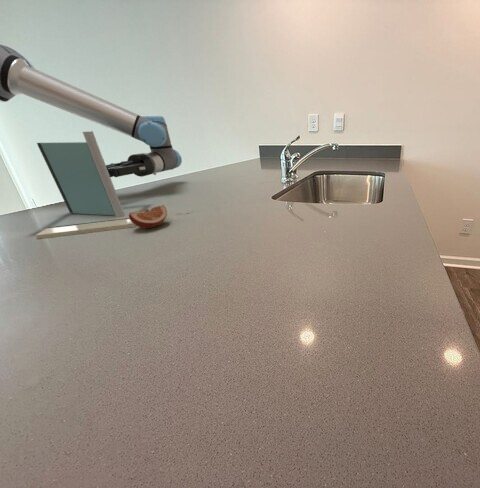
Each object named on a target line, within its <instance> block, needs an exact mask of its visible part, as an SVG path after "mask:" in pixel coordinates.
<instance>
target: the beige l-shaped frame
mask: <svg viewBox="0 0 480 488" xmlns="http://www.w3.org/2000/svg"><path fill="white" fill-rule="evenodd" d="M82 135H83V137H84V139H85V142H87V145H88V147H89V150H90V152H91V155H92V157H93V160H94V162H95V165H96V168H97V170H98V173H99V175H100V178H101V180H102V183H103V185H104V188H105V190H106V193H107V195H108V198H109V200H110V203H111V205H112V208H113V210H114V213H115V215H114V216H115V217H116V218H117V219H109V220H101V221H91V222H84V223H75V224H73V223H72V224H67V225H57V226H48V227H47V228H44V229H43V230H42V231H40V232H38V233H37V234H35V237H36V239H37V240H40V239H49V238H56V237H64V236H73V235H79V234H88V233H96V232H105V231H106V232H107V231H112V230H121V229H129V228H134V227H136V225H135V224H134V223H133V222H132V221H131V220H130V218H129V217H127V218H123V217H125V215H126V214H125V212H124V209H123V207H122V205H121V202H120V199H119V196H118V194H117V191H116V189H115V185H114V183H113V180H112V177H110V175H109V172H108V170H107V167H106V165H107V164H106V162H105V159H104V157H103V154H102V151H101V149H100V146H99V144H98V141H97V139H96V135H95V133H94V131H93V130H84V131H83V130H82Z"/></svg>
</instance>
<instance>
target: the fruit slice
mask: <svg viewBox="0 0 480 488" xmlns="http://www.w3.org/2000/svg"><path fill="white" fill-rule="evenodd" d="M167 215H168V210H167V208H166V206H165V205H164V204H162V205H158V206H155V207H151V208H150V209H142V210H141V209H140V210H138V211H137V210H136V211H133V212H132V211H131V212H129V214H128V218H130V220H131V221H132V222H133V223H134V224H135V226H137V227H139V228H142V229H151V228H156V227H158V226H160V225H161V224H163V223H164V221H165V220H166V219H167Z"/></svg>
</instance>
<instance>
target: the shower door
mask: <svg viewBox="0 0 480 488" xmlns="http://www.w3.org/2000/svg"><path fill="white" fill-rule="evenodd" d="M36 145H37V147H38V150H39V151H40V153H41V156H42V157H43V160H44V162H45V164H46V166H47V168H48V170H49V173H50V174H51V176H52V178H53V181H54V183H55V184H56V187H57V189H58V191H59V193H60V195H61V197H62V199H63V201H64V203H65V206H66V208H67V210H68V212H69V214H82V215H83V214H84V215H85V214H86V215H105V216H116V215H115V213H114V210H113V208H112V205H111V203H110V200H109V198H108V195H107V193H106V190H105V188H104V185H103V183H102V180H101V178H100V175H99V173H98V170H97V168H96V165H95V162H94V160H93V157H92V155H91V152H90V150H89V147H88V145H87V142H86V141H78V142H77V141H75V142H74V141H72V142H69V141H68V142H66V141H63V142H59V141H58V142H36Z"/></svg>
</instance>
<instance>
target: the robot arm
mask: <svg viewBox="0 0 480 488" xmlns="http://www.w3.org/2000/svg"><path fill="white" fill-rule="evenodd" d="M21 95H24V96H27V97H30V98H32V99H35V100H37V101H39V102H42V103H45V104H46V105H47V104H48V105H50V106H52V107H55V108H57V109H60V110H62V111H65V112H67V113H70V114H73V115H75V116H76V117H77V116H78V117H80V118H82V119H84V120H87V121H90V122H93V123H95V124H98V125H100V126H103V127H105V128H107V129H110V130H112V131H116V132H118V133H120V134H123V135H125V136H128V137H130V138H133V139H134V140H137V141H140V142H143V143H144V144H145V145H147V146H149V150H150V151H147V152H141V153H135V154H131V155H129V156H128V158H127V160H122V161H120V162H115V163H113V162H112V163H109V164H105V165H106V167H107V170H108V172H109V175H110V178H113V177H114V178H120V177H124V176H129V175H135V176H136V177H140V178H141V177H142V178H143V177H146V176H149V175H154V176H156V175H157V173H162V172H167V171H171V170H174V169H177V168H179V167H180V166H181V165H182V162H183V158H182V155H181V154H180V153H179V151H178V150H177V149H174V147H173V145H172V142H171V138H170V134H169V130H168V129H169V128H168V125H167V123H166V119H165V118H164V116H162V115H144V116H141V115H139V114H138V113H135V112H133V111H130V110H128V109H126V108H124V107H122V106H119V105H117V104H115V103H113V102H110V101H108V100H106V99H103V98H102V97H99V96H97V95H94V94H92V93H90V92H88V91H86V90H83V89H81V88H79V87H77V86H74V85H73V84H70V83H68V82H65V81H63V80H61V79H58V78H56V77H54V76H52V75H50V74H47V73H45V72H43V71H40V70H38V69H36V68H35V66H34V65H33V63H32V62H31V61H29V59H27V58H26V57H25V56H24V55H22V54H21V53H20V52H18V51H17V50H15V49H13V48H11V47H9V46H7V45H4V44H0V102H2V103H7V102H8V101H10V100H11V99H13V98H14V97H16V96H21Z"/></svg>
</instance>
